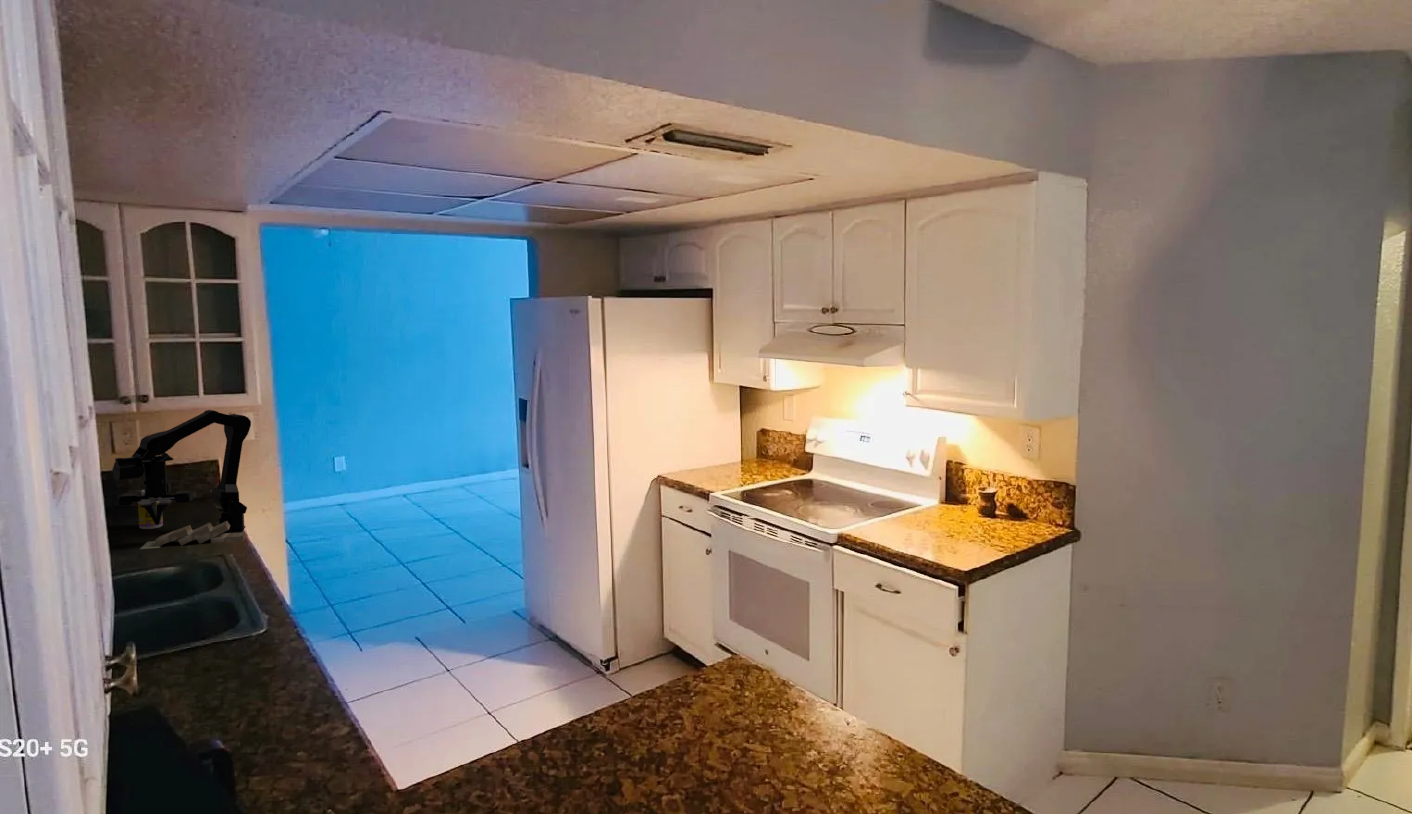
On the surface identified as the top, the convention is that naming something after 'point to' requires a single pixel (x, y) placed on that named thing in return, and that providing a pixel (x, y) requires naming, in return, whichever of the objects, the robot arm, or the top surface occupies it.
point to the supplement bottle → (147, 517)
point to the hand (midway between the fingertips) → (157, 524)
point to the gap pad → (150, 545)
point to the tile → (173, 535)
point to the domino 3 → (228, 537)
